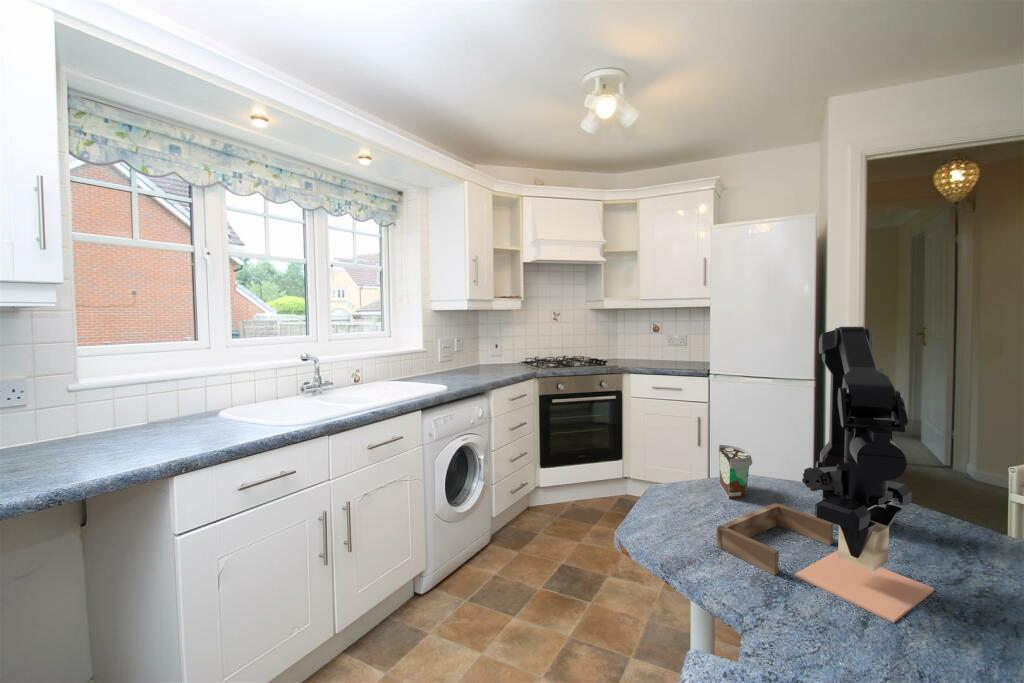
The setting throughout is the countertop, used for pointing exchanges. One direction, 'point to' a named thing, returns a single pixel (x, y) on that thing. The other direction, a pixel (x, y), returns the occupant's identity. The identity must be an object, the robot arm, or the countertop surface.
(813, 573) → the mat
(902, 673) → the countertop surface
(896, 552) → the countertop surface
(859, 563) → the maple block
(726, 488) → the food container
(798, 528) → the open side box
